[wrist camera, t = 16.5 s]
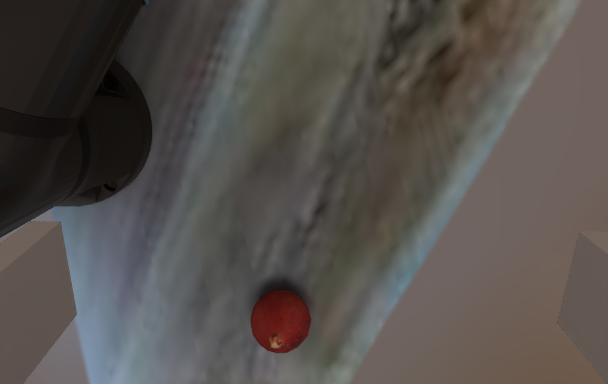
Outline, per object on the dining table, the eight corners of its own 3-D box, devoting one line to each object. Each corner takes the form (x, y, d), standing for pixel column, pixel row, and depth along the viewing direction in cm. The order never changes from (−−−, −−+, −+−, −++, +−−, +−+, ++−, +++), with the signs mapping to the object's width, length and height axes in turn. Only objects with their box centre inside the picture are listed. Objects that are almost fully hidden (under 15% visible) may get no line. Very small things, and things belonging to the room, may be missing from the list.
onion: (322, 297, 49) (321, 342, 42) (290, 335, 51) (284, 385, 43) (277, 266, 49) (267, 306, 41) (246, 306, 50) (231, 351, 42)
